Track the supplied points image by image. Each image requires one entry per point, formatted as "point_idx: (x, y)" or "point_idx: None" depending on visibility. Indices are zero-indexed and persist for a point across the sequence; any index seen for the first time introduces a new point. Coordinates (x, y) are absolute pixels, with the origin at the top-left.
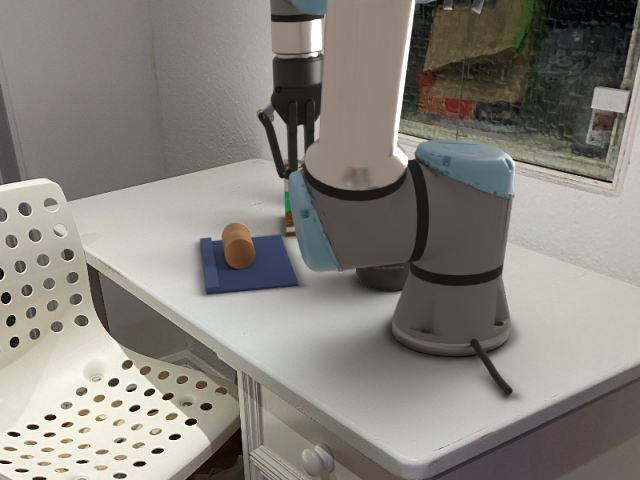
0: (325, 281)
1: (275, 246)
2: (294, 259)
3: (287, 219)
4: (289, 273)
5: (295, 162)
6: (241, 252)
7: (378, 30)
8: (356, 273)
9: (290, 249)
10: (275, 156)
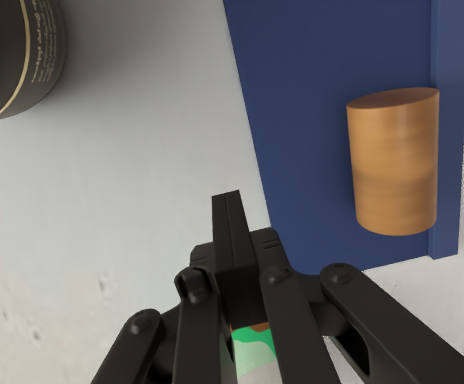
0: (152, 18)
1: (293, 229)
2: (245, 166)
3: None
4: (250, 62)
5: (285, 333)
6: (388, 98)
7: None
8: (58, 9)
9: (259, 222)
10: (430, 342)
